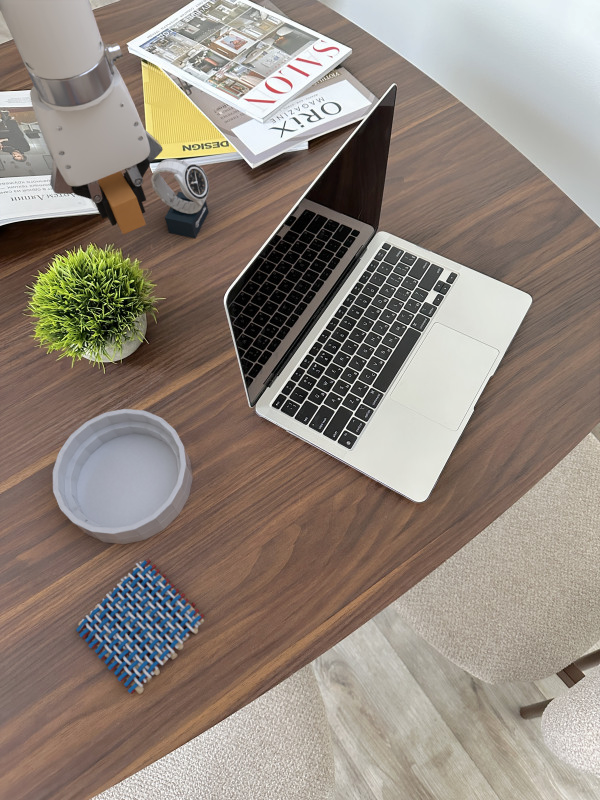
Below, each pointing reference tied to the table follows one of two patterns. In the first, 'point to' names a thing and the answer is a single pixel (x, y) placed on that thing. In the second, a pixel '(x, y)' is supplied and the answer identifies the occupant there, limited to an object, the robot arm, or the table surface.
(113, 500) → the gray bowl
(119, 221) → the brown rectangular block
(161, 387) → the table surface
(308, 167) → the table surface
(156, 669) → the woven mat
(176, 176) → the watch
